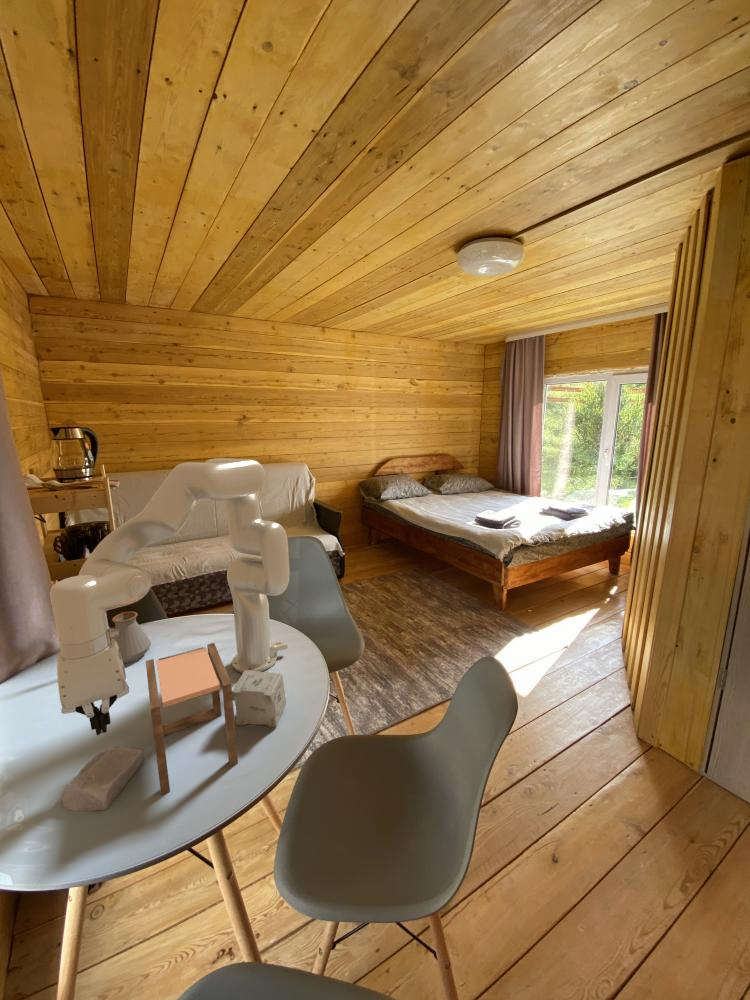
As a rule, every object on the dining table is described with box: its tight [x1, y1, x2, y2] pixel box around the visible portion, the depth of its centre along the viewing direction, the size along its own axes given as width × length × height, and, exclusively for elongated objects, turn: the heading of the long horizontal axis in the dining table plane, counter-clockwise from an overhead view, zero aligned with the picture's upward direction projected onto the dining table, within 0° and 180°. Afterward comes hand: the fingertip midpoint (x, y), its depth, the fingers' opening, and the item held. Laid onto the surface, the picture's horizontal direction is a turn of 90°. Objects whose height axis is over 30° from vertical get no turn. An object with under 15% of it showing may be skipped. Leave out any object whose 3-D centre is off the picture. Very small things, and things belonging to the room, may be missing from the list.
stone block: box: [61, 746, 144, 812], centre depth 80 cm, size 12×5×10 cm
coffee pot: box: [109, 611, 152, 664], centre depth 119 cm, size 21×12×15 cm, turn 130°
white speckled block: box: [232, 670, 287, 728], centre depth 96 cm, size 10×8×10 cm
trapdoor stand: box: [145, 642, 239, 796], centre depth 86 cm, size 14×18×18 cm
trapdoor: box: [156, 646, 221, 708], centre depth 86 cm, size 10×18×3 cm, turn 31°
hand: (102, 729), depth 80 cm, fingers closed
